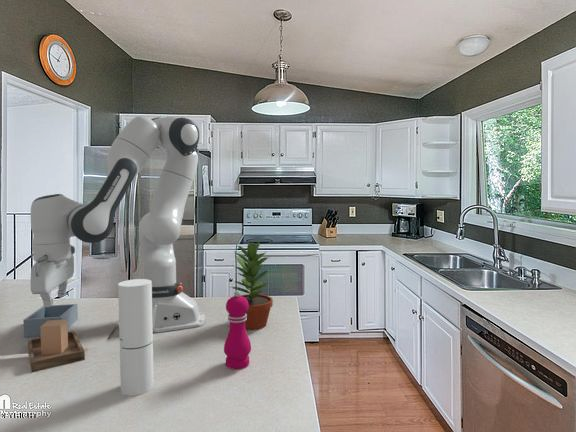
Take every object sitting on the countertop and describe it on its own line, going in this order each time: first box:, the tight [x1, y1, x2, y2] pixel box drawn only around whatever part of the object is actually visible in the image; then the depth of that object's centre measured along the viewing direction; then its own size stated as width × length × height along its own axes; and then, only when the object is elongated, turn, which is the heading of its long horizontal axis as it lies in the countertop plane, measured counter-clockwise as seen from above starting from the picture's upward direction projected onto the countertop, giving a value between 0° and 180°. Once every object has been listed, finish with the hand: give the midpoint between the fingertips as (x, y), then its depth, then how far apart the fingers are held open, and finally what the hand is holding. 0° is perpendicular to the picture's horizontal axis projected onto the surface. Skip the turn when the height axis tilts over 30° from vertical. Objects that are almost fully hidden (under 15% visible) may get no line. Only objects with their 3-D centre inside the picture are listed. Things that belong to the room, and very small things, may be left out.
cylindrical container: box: [117, 278, 155, 397], centre depth 86 cm, size 7×7×25 cm
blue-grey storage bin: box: [23, 303, 79, 338], centre depth 122 cm, size 11×15×6 cm
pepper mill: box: [223, 290, 252, 370], centre depth 98 cm, size 7×7×20 cm
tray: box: [27, 330, 86, 373], centre depth 104 cm, size 18×12×2 cm, turn 38°
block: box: [40, 319, 69, 355], centre depth 104 cm, size 5×5×8 cm
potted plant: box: [230, 241, 274, 331], centre depth 127 cm, size 15×15×30 cm
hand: (55, 301), depth 104 cm, fingers open, 8 cm apart
